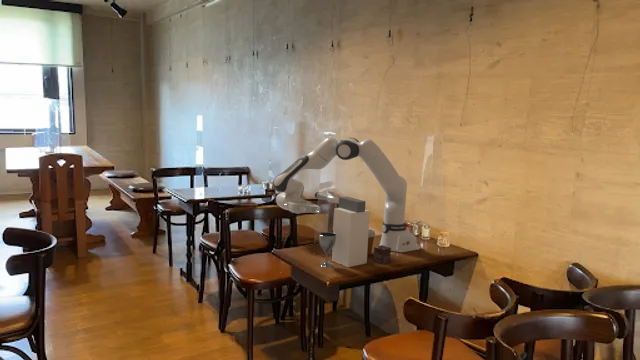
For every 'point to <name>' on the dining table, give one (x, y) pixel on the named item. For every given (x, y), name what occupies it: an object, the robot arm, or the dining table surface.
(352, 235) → the stand
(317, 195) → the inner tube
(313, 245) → the dining table surface
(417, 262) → the dining table surface
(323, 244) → the wine glass
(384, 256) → the box
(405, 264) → the dining table surface
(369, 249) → the disposable coffee cup
